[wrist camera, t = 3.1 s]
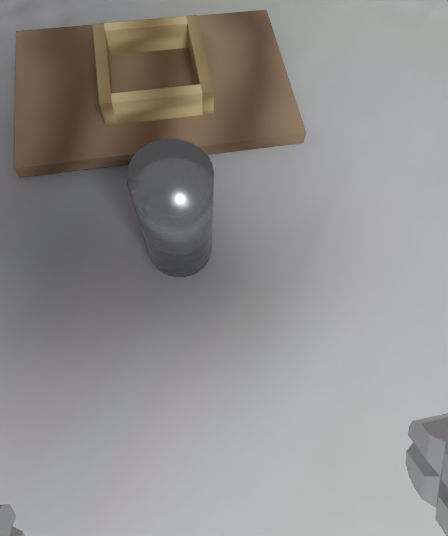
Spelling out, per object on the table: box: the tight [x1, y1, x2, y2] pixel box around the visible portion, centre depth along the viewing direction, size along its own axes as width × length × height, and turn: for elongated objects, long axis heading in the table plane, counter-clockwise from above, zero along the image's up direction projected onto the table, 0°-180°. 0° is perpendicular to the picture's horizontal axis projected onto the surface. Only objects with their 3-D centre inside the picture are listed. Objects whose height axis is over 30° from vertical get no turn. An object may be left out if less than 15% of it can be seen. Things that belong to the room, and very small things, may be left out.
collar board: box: [14, 10, 306, 177], centre depth 30 cm, size 20×13×3 cm, turn 100°
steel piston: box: [127, 139, 214, 277], centre depth 22 cm, size 4×4×8 cm
